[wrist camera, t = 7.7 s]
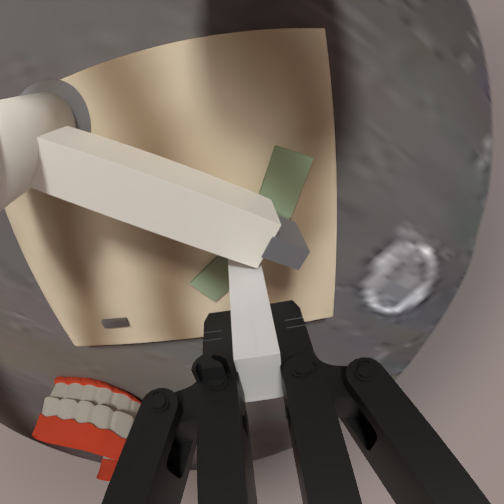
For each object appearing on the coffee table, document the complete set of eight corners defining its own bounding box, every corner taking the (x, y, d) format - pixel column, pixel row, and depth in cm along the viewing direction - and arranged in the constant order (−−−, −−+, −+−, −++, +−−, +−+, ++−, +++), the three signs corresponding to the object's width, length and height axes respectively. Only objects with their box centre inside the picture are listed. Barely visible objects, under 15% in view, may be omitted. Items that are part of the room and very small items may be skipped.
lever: (6, 163, 12) (-78, 218, 6) (21, 86, 10) (-77, 108, 4) (268, 257, 17) (293, 358, 11) (308, 185, 15) (366, 262, 9)
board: (81, 332, 22) (74, 348, 20) (-6, 112, 12) (-24, 117, 10) (326, 301, 22) (334, 319, 20) (314, 25, 12) (325, 18, 11)
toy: (179, 426, 31) (177, 485, 24) (109, 428, 31) (100, 480, 24) (125, 366, 24) (110, 443, 17) (49, 372, 25) (28, 433, 18)
